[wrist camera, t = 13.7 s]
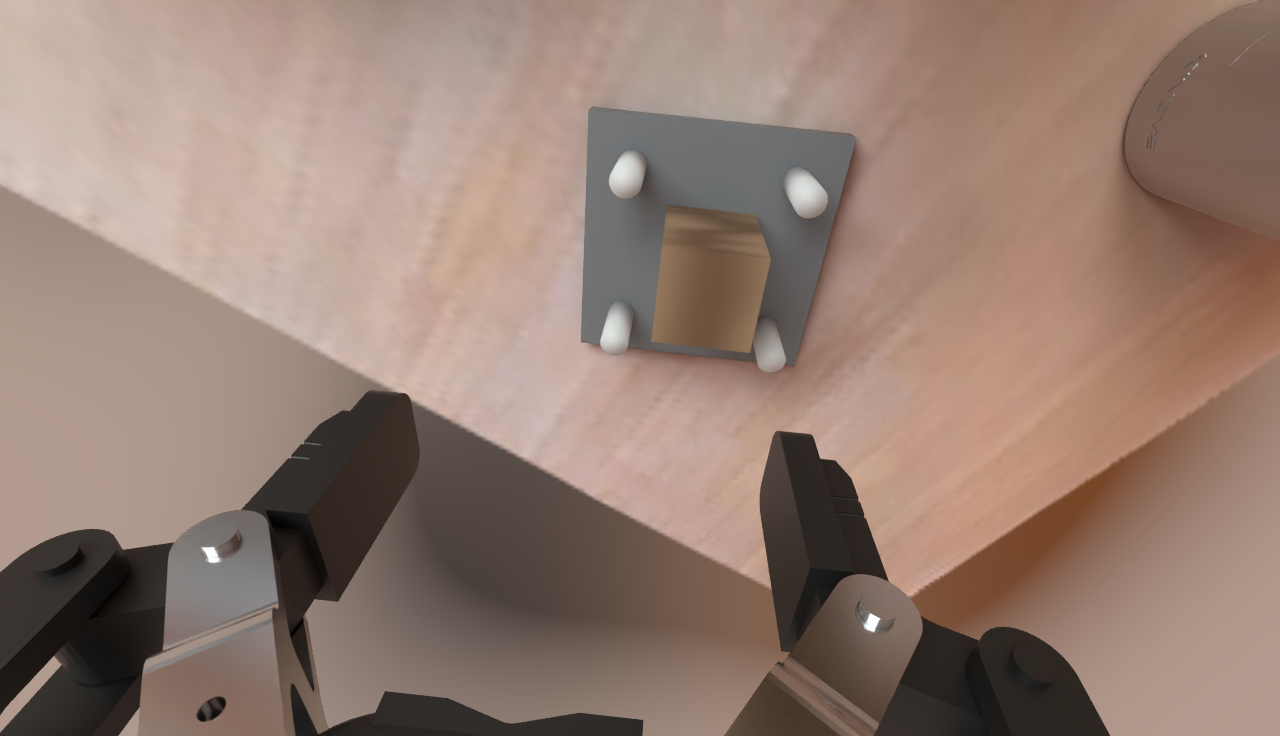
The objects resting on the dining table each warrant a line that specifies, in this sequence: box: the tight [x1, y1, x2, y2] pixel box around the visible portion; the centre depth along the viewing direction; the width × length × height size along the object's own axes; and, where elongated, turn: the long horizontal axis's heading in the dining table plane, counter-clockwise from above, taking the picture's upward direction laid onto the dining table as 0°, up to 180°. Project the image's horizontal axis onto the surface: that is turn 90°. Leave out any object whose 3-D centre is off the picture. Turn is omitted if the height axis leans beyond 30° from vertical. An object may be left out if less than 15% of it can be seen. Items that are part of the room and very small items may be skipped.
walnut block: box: [651, 205, 771, 353], centre depth 30 cm, size 5×5×7 cm
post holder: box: [581, 107, 856, 373], centre depth 32 cm, size 14×14×5 cm
